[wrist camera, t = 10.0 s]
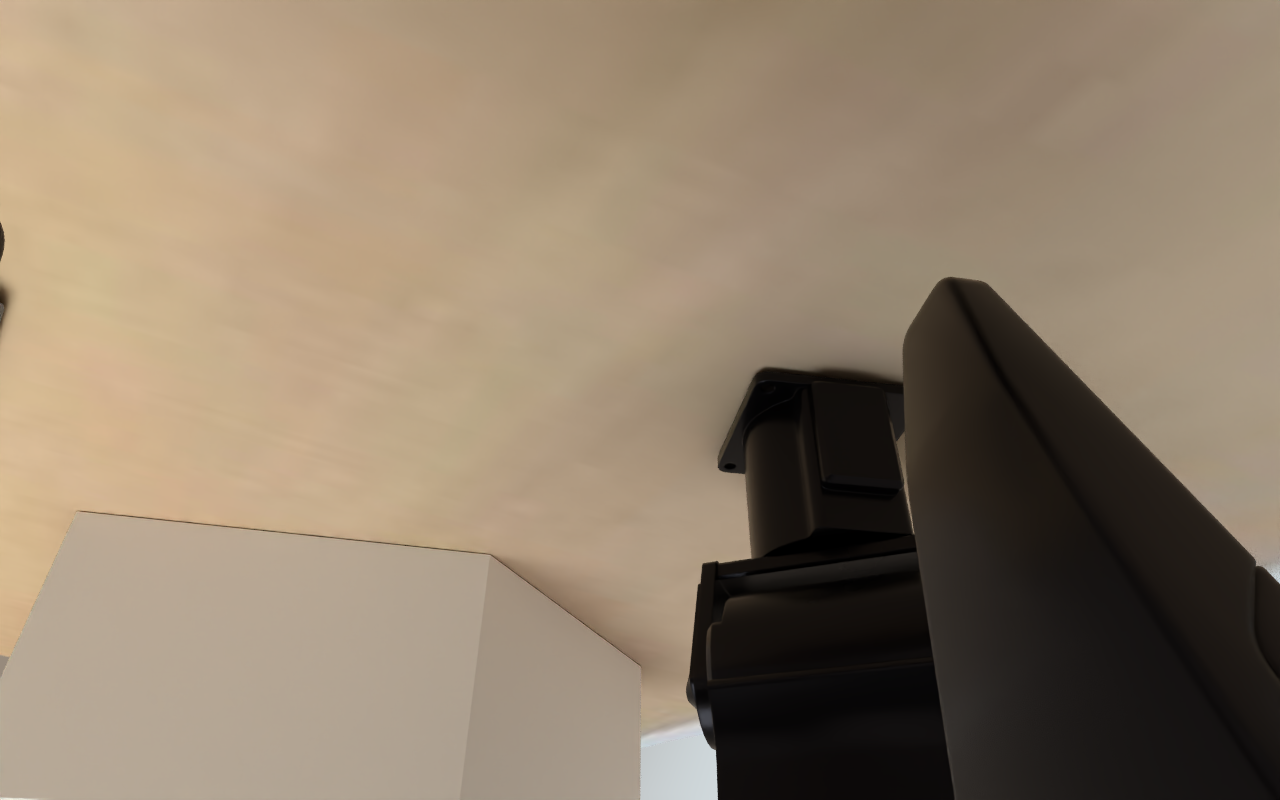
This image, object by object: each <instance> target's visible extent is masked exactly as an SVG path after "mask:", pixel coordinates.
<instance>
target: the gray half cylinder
mask: <svg viewBox="0 0 1280 800" xmlns="http://www.w3.org/2000/svg"><path fill="white" fill-rule="evenodd" d="M3 312H4V306H3V304H2V303H0V322H1V318H2V315H3Z"/></svg>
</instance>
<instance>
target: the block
mask: <svg viewBox="0 0 1280 800" xmlns="http://www.w3.org/2000/svg"><path fill="white" fill-rule="evenodd" d="M640 745H641V666H639V665H638V664H637V663H635V662H634V661H633V660H631V659H630V658H629V657H627V656H626V655H625V654H623V653H622V652H621V651H619V650H618V649H616V648H615V647H614V646H612V645H611V644H610V643H608V642H607V641H606V640H604V639H603V638H602V637H600V636H599V635H598V634H596V633H595V632H594V631H592V630H591V629H590V628H588V627H587V626H585V625H584V624H583V623H581V622H580V621H579V620H577V619H576V618H575V617H573V616H572V615H571V614H569V613H568V612H567V611H565V610H564V609H563V608H561V607H560V606H558V605H557V604H556V603H554V602H553V601H552V600H550V599H549V598H548V597H546V596H545V595H544V594H542V593H541V592H540V591H538V590H537V589H536V588H534V587H533V586H532V585H530V584H529V583H527V582H526V581H525V580H523V579H522V578H521V577H519V576H518V575H517V574H515V573H514V572H513V571H511V570H510V569H509V568H507V567H506V566H505V565H503V564H502V563H500V562H499V561H498V560H496V559H495V558H494V557H492V556H491V555H487V554H478V553H468V552H459V551H449V550H440V549H430V548H421V547H411V546H402V545H392V544H383V543H373V542H364V541H354V540H345V539H335V538H326V537H316V536H307V535H297V534H288V533H278V532H269V531H259V530H250V529H240V528H231V527H221V526H212V525H202V524H193V523H183V522H174V521H164V520H155V519H145V518H136V517H126V516H117V515H107V514H98V513H88V512H79V511H77V512H76V514H75V516H74V518H73V520H72V522H71V525H70V527H69V529H68V531H67V533H66V536H65V538H64V540H63V542H62V544H61V547H60V549H59V551H58V553H57V555H56V558H55V560H54V562H53V564H52V566H51V568H50V571H49V573H48V575H47V577H46V579H45V582H44V584H43V586H42V588H41V590H40V593H39V595H38V597H37V599H36V601H35V603H34V606H33V608H32V610H31V612H30V614H29V617H28V619H27V621H26V623H25V625H24V628H23V630H22V632H21V634H20V636H19V638H18V641H17V643H16V645H15V647H14V649H13V652H12V654H11V656H10V658H9V660H8V663H7V665H6V667H5V669H4V671H3V674H2V676H1V678H0V800H640Z"/></svg>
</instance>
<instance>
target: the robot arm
mask: <svg viewBox="0 0 1280 800" xmlns="http://www.w3.org/2000/svg"><path fill="white" fill-rule="evenodd" d="M4 241H5V239H4V231H3V228H2V225H1V223H0V261H1V258H2V255H3V250H4ZM903 382H904V386H900V385H890V384H881V383H872V382H862V381H853V380H844V379H834V378H825V377H816V376H806V375H797V374H788V373H778V372H762V373H759V374H757V375H756V376H755V377H754V378H753V380H752V383H751V385H750V387H749V389H748V391H747V394H746V396H745V398H744V400H743V402H742V405H741V407H740V409H739V411H738V414H737V416H736V418H735V420H734V422H733V425H732V427H731V429H730V431H729V433H728V436H727V438H726V440H725V442H724V445H723V447H722V449H721V451H720V453H719V456H718V468H719V470H721V471H723V472H728V473H739V474H745V479H746V492H747V505H748V518H749V531H750V545H751V558H752V559H746V560H739V561H732V562H725V563H719V562H718V561H715V562H709V563H703V565H702V574H701V584H698V591H697V601H696V612H695V622H694V632H693V643H692V653H691V664H690V674H689V678H688V682H687V686H686V694H687V699H688V701H689V703H691V704H692V705H693V706H694V707H695V708H696V709H697V712H698V716H699V720H700V725H701V728H702V731H703V734H704V736H705V738H706V740H707V742H708V744H709V745H710V747H711V748H712V749H714V750H716V760H717V784H718V800H1280V584H1279V583H1278V582H1277V581H1276V580H1275V579H1274V578H1273V577H1272V576H1271V575H1270V573H1269V572H1268V571H1267V570H1266V569H1265V568H1263V567H1261V566H1256V561H1255V559H1254V557H1253V556H1252V555H1251V554H1250V553H1249V552H1248V551H1247V550H1246V549H1245V548H1244V547H1243V546H1242V545H1241V544H1240V543H1239V542H1238V541H1237V540H1236V539H1235V538H1234V537H1233V536H1232V535H1231V534H1230V533H1229V532H1228V531H1227V530H1226V529H1225V528H1224V526H1223V525H1222V524H1221V523H1220V522H1219V521H1218V520H1217V519H1216V518H1215V517H1214V516H1213V515H1212V514H1211V513H1210V512H1209V511H1208V510H1207V509H1206V508H1205V507H1204V506H1203V505H1202V504H1201V503H1200V502H1199V501H1198V500H1197V499H1196V498H1195V497H1194V496H1193V495H1192V494H1191V493H1190V491H1189V490H1188V489H1187V488H1186V487H1185V486H1184V485H1183V484H1182V483H1181V482H1180V481H1179V480H1178V479H1177V478H1176V477H1175V476H1174V475H1173V474H1172V473H1171V472H1170V471H1169V470H1168V469H1167V468H1166V467H1165V466H1164V465H1163V464H1162V463H1161V462H1160V461H1159V460H1158V459H1157V458H1156V457H1155V455H1154V454H1153V453H1152V452H1151V451H1150V450H1149V449H1148V448H1147V447H1146V446H1145V445H1144V444H1143V443H1142V442H1141V441H1140V440H1139V439H1138V438H1137V437H1136V436H1135V435H1134V434H1133V433H1132V432H1131V431H1130V430H1129V429H1128V428H1127V427H1126V426H1125V425H1124V424H1123V423H1122V422H1121V420H1120V419H1119V418H1118V417H1117V416H1116V415H1115V414H1114V413H1113V412H1112V411H1111V410H1110V409H1109V408H1108V407H1107V406H1106V405H1105V404H1104V403H1103V402H1102V401H1101V400H1100V399H1099V398H1098V397H1097V396H1096V395H1095V394H1094V393H1093V392H1092V391H1091V390H1090V389H1089V388H1088V387H1087V386H1086V384H1085V383H1084V382H1083V381H1082V380H1081V379H1080V378H1079V377H1078V376H1077V375H1076V374H1075V373H1074V372H1073V371H1072V370H1071V369H1070V368H1069V367H1068V366H1067V365H1066V364H1065V363H1064V362H1063V361H1062V360H1061V359H1060V358H1059V357H1058V356H1057V355H1056V354H1055V353H1054V352H1053V351H1052V349H1051V348H1050V347H1049V346H1048V345H1047V344H1046V343H1045V342H1044V341H1043V340H1042V339H1041V338H1040V337H1039V336H1038V335H1037V334H1036V333H1035V332H1034V331H1033V330H1032V329H1031V328H1030V327H1029V326H1028V325H1027V324H1026V323H1025V322H1024V321H1023V320H1022V319H1021V318H1020V317H1019V316H1018V315H1017V313H1016V312H1015V311H1014V310H1013V309H1012V308H1011V307H1010V306H1009V305H1008V304H1007V303H1006V302H1005V301H1004V300H1003V299H1002V298H1001V297H1000V296H999V295H998V294H997V293H996V292H995V291H994V290H993V289H992V288H991V287H990V286H989V285H988V284H986V283H985V282H982V281H979V280H972V279H964V278H956V277H947V278H944V279H942V280H941V281H939V282H938V283H937V284H936V286H935V287H934V288H933V290H932V292H931V293H930V295H929V296H928V298H927V300H926V301H925V303H924V304H923V306H922V308H921V309H920V311H919V312H918V314H917V316H916V317H915V319H914V320H913V322H912V324H911V325H910V327H909V329H908V331H907V333H906V336H905V339H904V344H903ZM904 431H905V450H906V472H907V484H908V493H909V501H910V507H911V514H912V521H913V527H914V533H913V529H912V524H911V519H910V514H909V509H908V504H907V499H906V494H905V489H904V478H903V473H902V468H901V464H900V459H899V454H898V449H897V444H896V441H897V440H898V439H899V437H900V436H901V435H902V433H903V432H904Z"/></svg>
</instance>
